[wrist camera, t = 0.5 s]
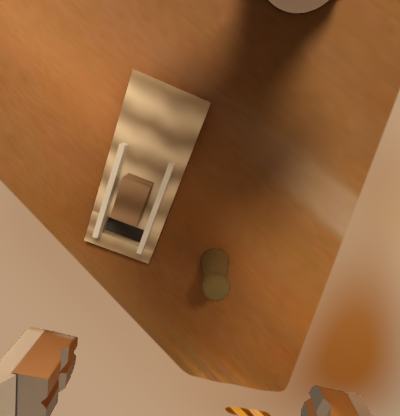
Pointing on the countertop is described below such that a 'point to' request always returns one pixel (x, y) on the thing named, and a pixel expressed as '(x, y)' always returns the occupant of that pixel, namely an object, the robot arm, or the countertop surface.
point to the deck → (149, 157)
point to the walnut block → (131, 199)
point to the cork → (215, 274)
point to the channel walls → (111, 189)
